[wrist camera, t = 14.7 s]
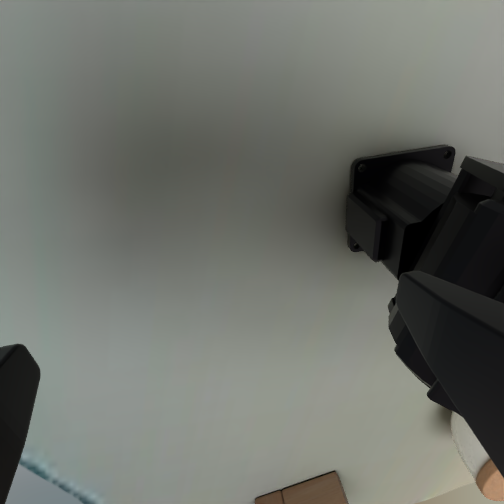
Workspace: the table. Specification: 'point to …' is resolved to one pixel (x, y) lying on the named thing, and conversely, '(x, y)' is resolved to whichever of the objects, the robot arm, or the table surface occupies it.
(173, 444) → the table surface
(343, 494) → the brown wooden stand
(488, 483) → the lidded jar
